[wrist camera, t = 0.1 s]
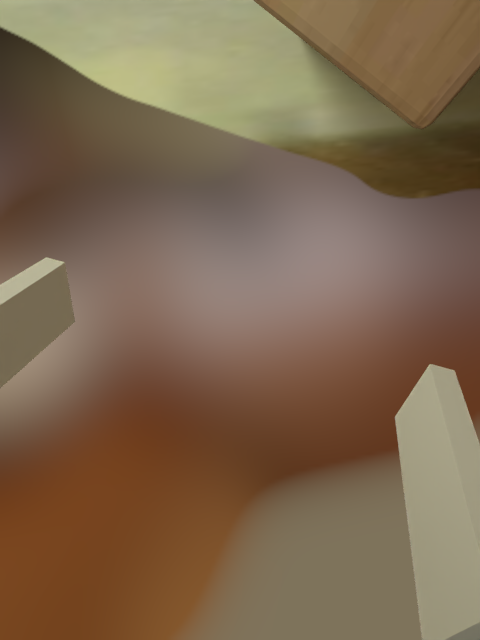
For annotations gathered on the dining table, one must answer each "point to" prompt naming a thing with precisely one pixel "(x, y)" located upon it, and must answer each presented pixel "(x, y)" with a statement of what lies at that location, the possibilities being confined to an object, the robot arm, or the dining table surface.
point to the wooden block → (393, 47)
